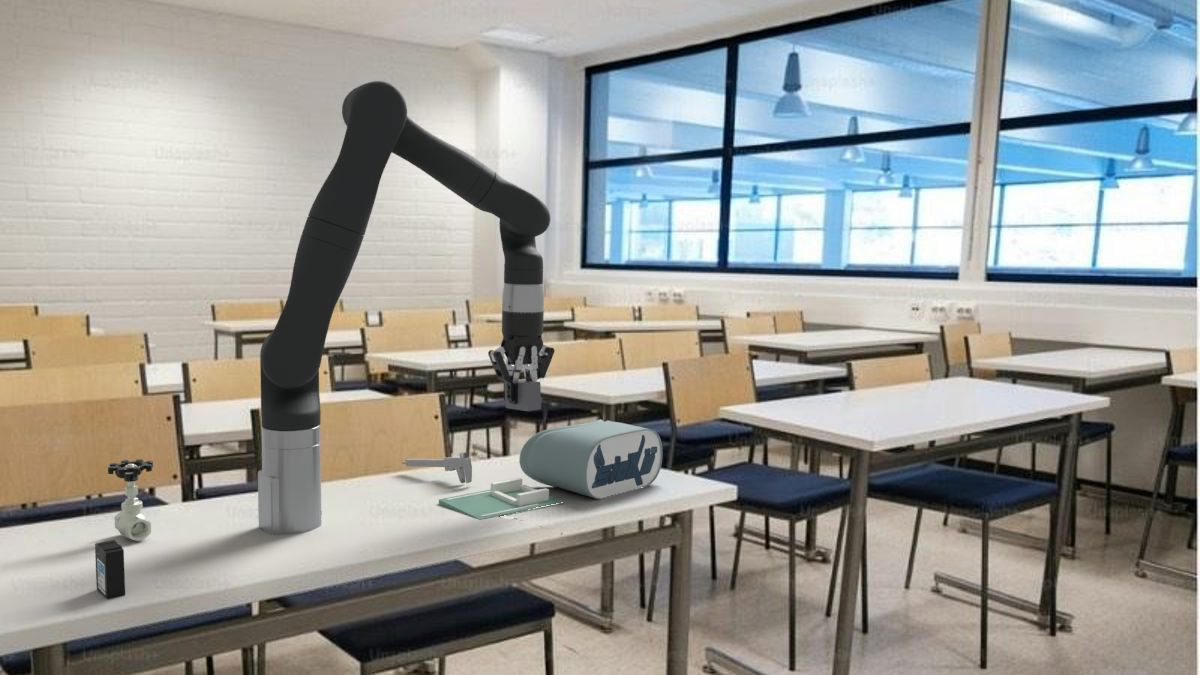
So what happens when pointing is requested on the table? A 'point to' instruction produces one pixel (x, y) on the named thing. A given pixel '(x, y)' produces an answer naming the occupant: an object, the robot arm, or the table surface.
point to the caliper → (447, 465)
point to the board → (500, 500)
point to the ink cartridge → (110, 569)
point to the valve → (131, 500)
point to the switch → (526, 396)
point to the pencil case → (593, 458)
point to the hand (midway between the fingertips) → (521, 402)
